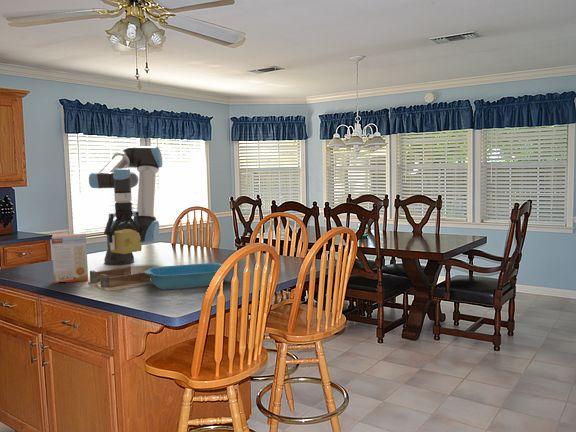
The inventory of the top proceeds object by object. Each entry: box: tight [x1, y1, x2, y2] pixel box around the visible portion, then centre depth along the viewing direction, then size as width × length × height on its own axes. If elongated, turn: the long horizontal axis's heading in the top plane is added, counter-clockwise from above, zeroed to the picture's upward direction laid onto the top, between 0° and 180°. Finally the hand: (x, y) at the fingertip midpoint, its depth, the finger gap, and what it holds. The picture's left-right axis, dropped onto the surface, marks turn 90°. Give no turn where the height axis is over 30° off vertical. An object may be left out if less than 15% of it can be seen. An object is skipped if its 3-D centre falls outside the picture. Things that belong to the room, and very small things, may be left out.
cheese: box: [109, 229, 143, 254], centre depth 243 cm, size 10×11×10 cm
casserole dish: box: [144, 262, 228, 291], centre depth 222 cm, size 37×22×7 cm, turn 113°
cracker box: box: [51, 233, 89, 284], centre depth 230 cm, size 14×6×21 cm, turn 110°
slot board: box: [87, 266, 154, 292], centre depth 227 cm, size 20×28×6 cm
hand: (125, 247), depth 244 cm, fingers closed on cheese, 12 cm apart
